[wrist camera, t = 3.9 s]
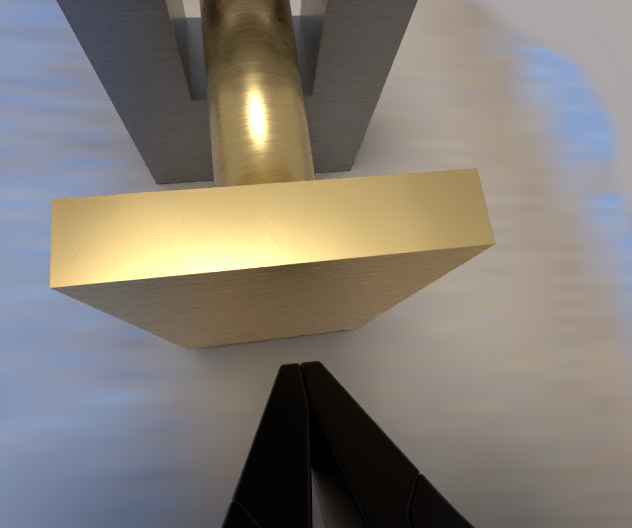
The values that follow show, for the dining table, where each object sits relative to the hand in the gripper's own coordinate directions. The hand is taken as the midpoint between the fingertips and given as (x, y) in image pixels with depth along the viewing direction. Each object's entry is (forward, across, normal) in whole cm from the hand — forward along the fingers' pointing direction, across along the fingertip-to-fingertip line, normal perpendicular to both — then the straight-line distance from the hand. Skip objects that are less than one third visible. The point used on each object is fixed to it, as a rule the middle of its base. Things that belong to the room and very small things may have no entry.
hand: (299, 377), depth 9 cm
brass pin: (+9, 0, 0) cm, 9 cm away
